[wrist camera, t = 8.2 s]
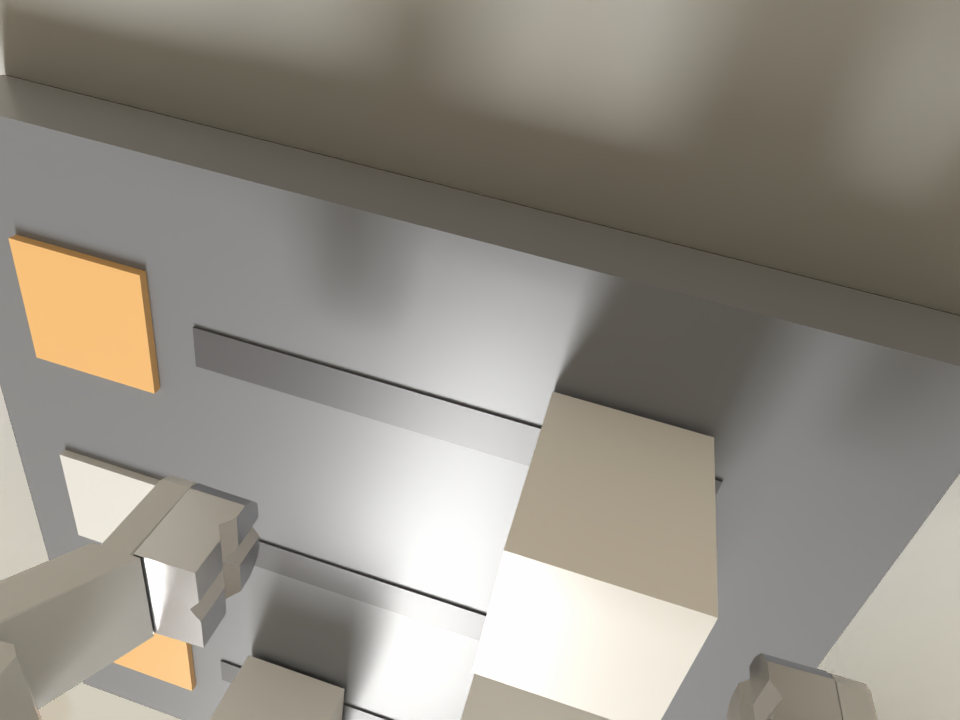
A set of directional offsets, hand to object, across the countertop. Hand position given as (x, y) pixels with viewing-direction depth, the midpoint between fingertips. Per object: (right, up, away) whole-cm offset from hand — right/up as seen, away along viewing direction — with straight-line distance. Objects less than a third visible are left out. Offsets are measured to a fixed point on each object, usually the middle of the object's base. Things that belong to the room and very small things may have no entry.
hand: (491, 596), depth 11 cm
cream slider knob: (+2, +2, +2) cm, 4 cm away
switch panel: (-2, -1, +8) cm, 9 cm away
